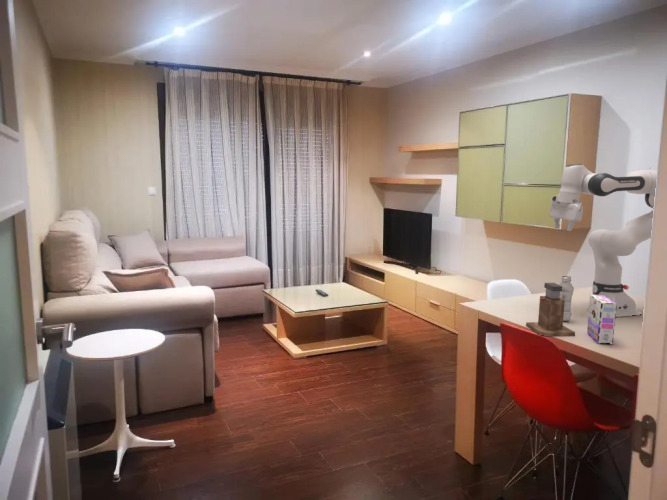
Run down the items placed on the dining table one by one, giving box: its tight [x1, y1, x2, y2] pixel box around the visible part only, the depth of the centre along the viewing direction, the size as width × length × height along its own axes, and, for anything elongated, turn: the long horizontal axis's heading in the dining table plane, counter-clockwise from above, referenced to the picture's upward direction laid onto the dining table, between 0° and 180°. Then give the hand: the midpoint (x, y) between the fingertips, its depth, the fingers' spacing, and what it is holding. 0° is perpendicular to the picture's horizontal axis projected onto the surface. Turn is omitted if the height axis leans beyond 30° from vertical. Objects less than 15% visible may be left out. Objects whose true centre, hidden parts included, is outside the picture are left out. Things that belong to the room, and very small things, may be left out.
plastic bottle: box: [558, 275, 575, 322], centre depth 224 cm, size 6×7×20 cm
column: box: [543, 282, 562, 300], centre depth 209 cm, size 4×7×18 cm, turn 4°
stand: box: [525, 295, 576, 337], centre depth 209 cm, size 14×14×14 cm
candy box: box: [586, 294, 617, 344], centre depth 200 cm, size 14×6×16 cm, turn 170°
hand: (562, 229), depth 232 cm, fingers open, 8 cm apart
